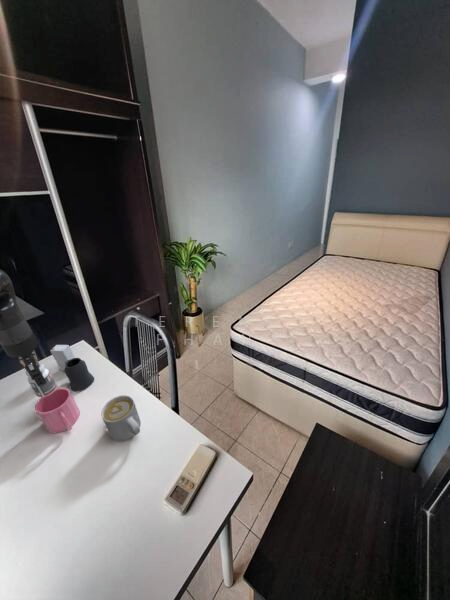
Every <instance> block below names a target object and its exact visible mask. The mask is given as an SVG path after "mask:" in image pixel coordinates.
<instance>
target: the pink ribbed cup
mask: <svg viewBox="0 0 450 600" xmlns="http://www.w3.org/2000/svg"><path fill="white" fill-rule="evenodd" d="M34 411H35V412H36V414H37V416H38V417H39V419H40V421H41V422H42V423H43V426H44V427H45V429H46V430H47V431H48V432H49V433H51V434H58V433H62V432H65V431H66V430H68V431H71V430H73V426H74V425H75V423H77V421H78V420H79V418H80V416H81V411H80V407H79V406H78V404H77V402H76V400H75V398H74V397H73V394H72V392H71V389H70V388H66V387H59V388H56V390H55V391H54V392H53V393H52V394H50V395H48V396H46V397H39V399H38V400H37V401H36V403H35V405H34Z"/></svg>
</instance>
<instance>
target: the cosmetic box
mask: <svg viewBox="0 0 450 600" xmlns="http://www.w3.org/2000/svg"><path fill="white" fill-rule="evenodd" d="M50 353H51V355H52V357H53V360H55V363H56V364H57V366H58V367H59V369H60V371H61V372H64V369H65V362H66V361H68V360H71V359H73V358H76V356H75V354H74V353H73V351H72V348H71V347H70V345H69V344H55V345H54V346H53V347H52V349H50Z"/></svg>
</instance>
